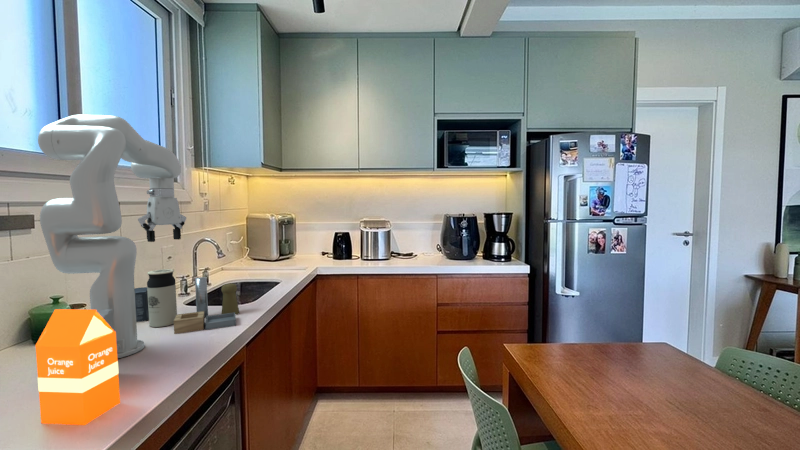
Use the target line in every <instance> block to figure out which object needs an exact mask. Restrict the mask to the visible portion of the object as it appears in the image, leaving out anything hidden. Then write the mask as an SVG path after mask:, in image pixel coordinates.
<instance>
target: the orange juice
mask: <svg viewBox="0 0 800 450" xmlns="http://www.w3.org/2000/svg"><path fill="white" fill-rule="evenodd" d="M45 325H46V326H45V328H43V331H42V332H41V335H40V336H39V338H38V340H37V342H36V343H35V346H34V347H35V355H36V356H35V358H36V368H37V371H36V372H37V388H38V389H37V390H38V397H39V411H40V423H41V424H45V425H72V426H73V425H74V426H86V425H88V424H89V423H91V422H92V421H93V420H95V419H97V418H99V417H101V416H102V415H103V414H105V413H107V412H109V410H111V409H113V408H114V407H116V406H118V405H119V404H121V395H120V393H121V392H120V378H119V373H120V372H119V371H120V370H119V359H118V358H117V343H116V332H115V331H114V330H113V329H112V328H111V327H110V326H109V325H108V323H107V322H106V321H105V320H104V319H103V318H102V317H101V315H100V314H99V313H98V312H97V311H96V310H91V309H71V308H70V309H69V308H68V309H67V308H65V309H64V308H62V309H60V308H59V309H55V308H54V311H53V312H52V314H51V316H50V317H49V320H48V321H47V323H46V324H45Z"/></svg>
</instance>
